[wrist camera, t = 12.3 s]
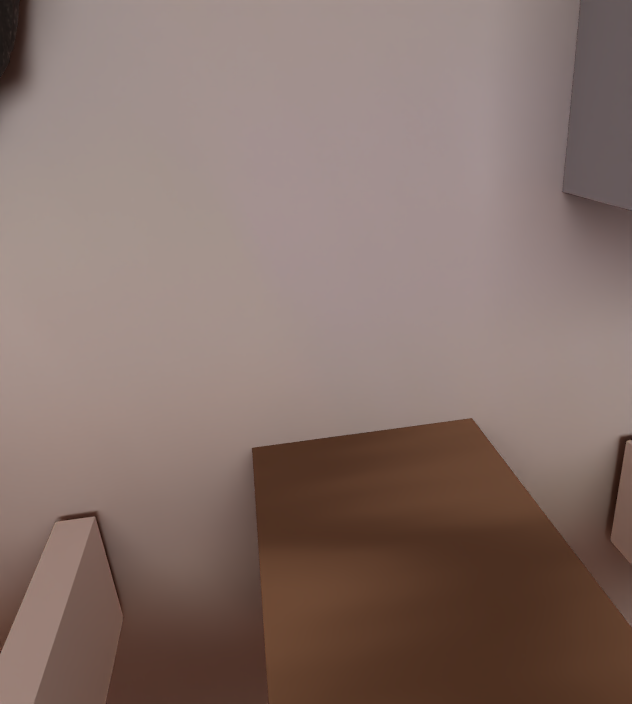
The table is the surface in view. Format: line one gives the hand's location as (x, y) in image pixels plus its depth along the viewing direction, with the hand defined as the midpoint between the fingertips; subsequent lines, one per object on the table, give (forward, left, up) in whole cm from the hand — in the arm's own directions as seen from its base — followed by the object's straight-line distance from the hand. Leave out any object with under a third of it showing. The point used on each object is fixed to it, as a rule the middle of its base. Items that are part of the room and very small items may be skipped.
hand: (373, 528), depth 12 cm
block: (0, 0, 0) cm, 0 cm away
